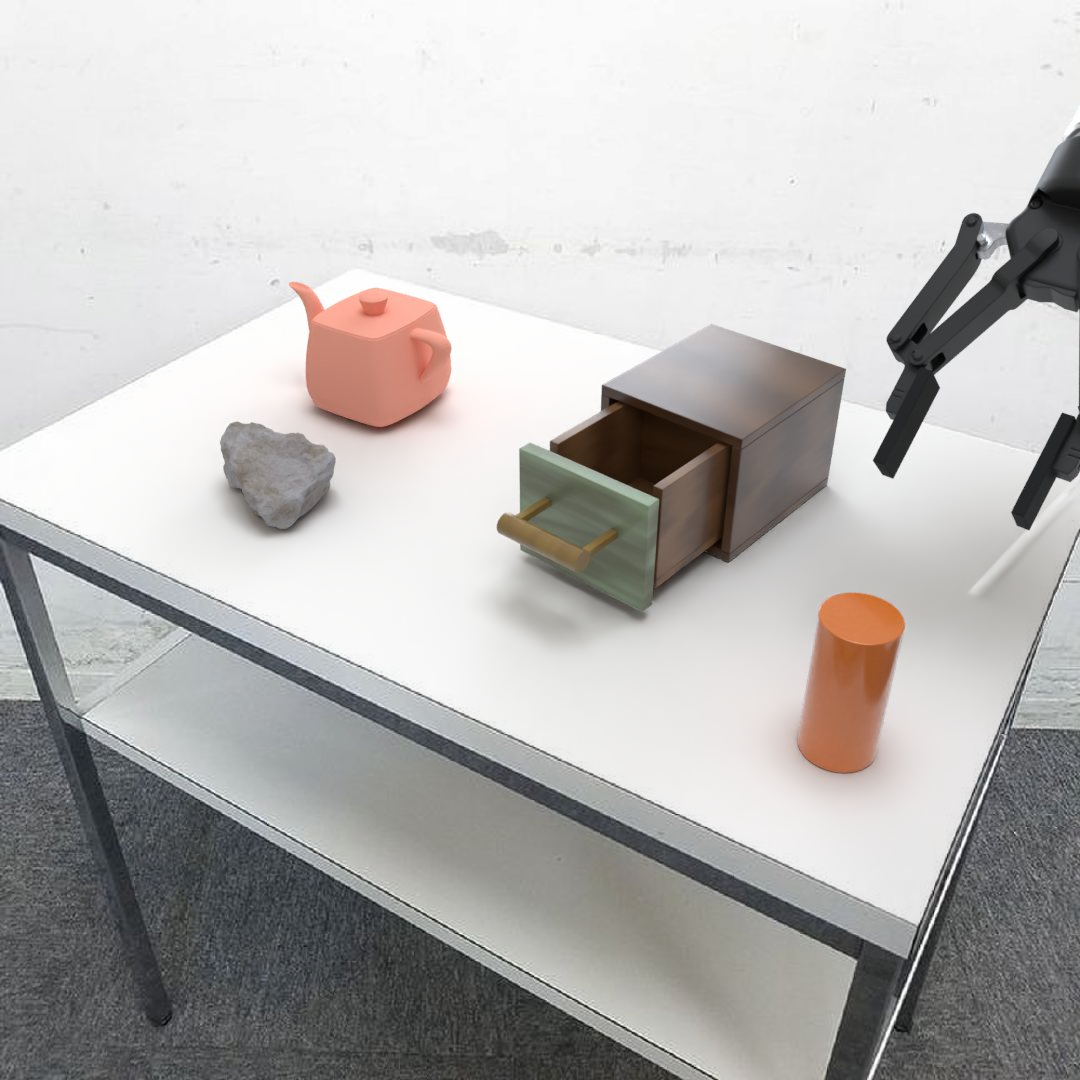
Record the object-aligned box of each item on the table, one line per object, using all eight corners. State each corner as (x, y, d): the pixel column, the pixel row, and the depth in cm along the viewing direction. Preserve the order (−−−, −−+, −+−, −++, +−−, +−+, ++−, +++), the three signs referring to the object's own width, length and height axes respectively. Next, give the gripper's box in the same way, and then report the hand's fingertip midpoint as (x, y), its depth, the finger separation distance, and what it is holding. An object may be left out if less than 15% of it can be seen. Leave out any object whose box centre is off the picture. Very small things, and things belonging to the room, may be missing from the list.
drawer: (598, 646, 79) (602, 537, 74) (475, 579, 86) (471, 475, 81) (748, 530, 91) (760, 429, 86) (630, 478, 97) (635, 381, 92)
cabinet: (728, 562, 89) (742, 439, 83) (597, 502, 96) (601, 384, 90) (827, 484, 98) (846, 368, 92) (701, 434, 105) (711, 323, 99)
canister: (890, 742, 73) (920, 615, 68) (852, 785, 70) (879, 656, 65) (821, 707, 76) (845, 581, 70) (782, 747, 73) (802, 620, 67)
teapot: (414, 451, 102) (406, 340, 96) (260, 397, 110) (244, 292, 104) (490, 398, 110) (487, 293, 104) (341, 352, 118) (331, 252, 112)
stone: (192, 506, 95) (179, 442, 92) (263, 462, 101) (254, 401, 97) (283, 544, 91) (273, 479, 87) (352, 497, 96) (346, 434, 93)
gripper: (946, 97, 75) (780, 416, 74) (1314, 165, 63) (1123, 543, 63) (966, 162, 81) (813, 457, 80) (1303, 235, 70) (1130, 578, 69)
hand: (949, 494), depth 71 cm, fingers open, 8 cm apart
